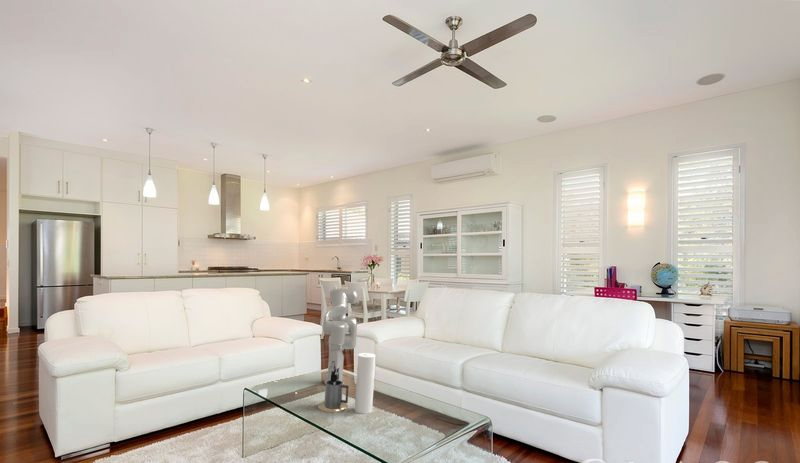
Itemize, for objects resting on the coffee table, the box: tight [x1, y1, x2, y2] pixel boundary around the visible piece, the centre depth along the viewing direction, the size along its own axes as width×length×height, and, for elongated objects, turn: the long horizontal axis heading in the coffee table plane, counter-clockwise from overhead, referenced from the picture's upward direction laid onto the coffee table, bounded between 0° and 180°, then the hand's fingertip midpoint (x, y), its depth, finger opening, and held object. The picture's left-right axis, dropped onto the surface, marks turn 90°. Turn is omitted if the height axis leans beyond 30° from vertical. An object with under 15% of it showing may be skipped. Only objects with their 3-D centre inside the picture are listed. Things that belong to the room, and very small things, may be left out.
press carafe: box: [317, 380, 350, 413], centre depth 230 cm, size 16×16×13 cm
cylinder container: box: [354, 352, 377, 415], centre depth 228 cm, size 9×9×30 cm
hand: (334, 380), depth 230 cm, fingers closed on plunger, 3 cm apart
